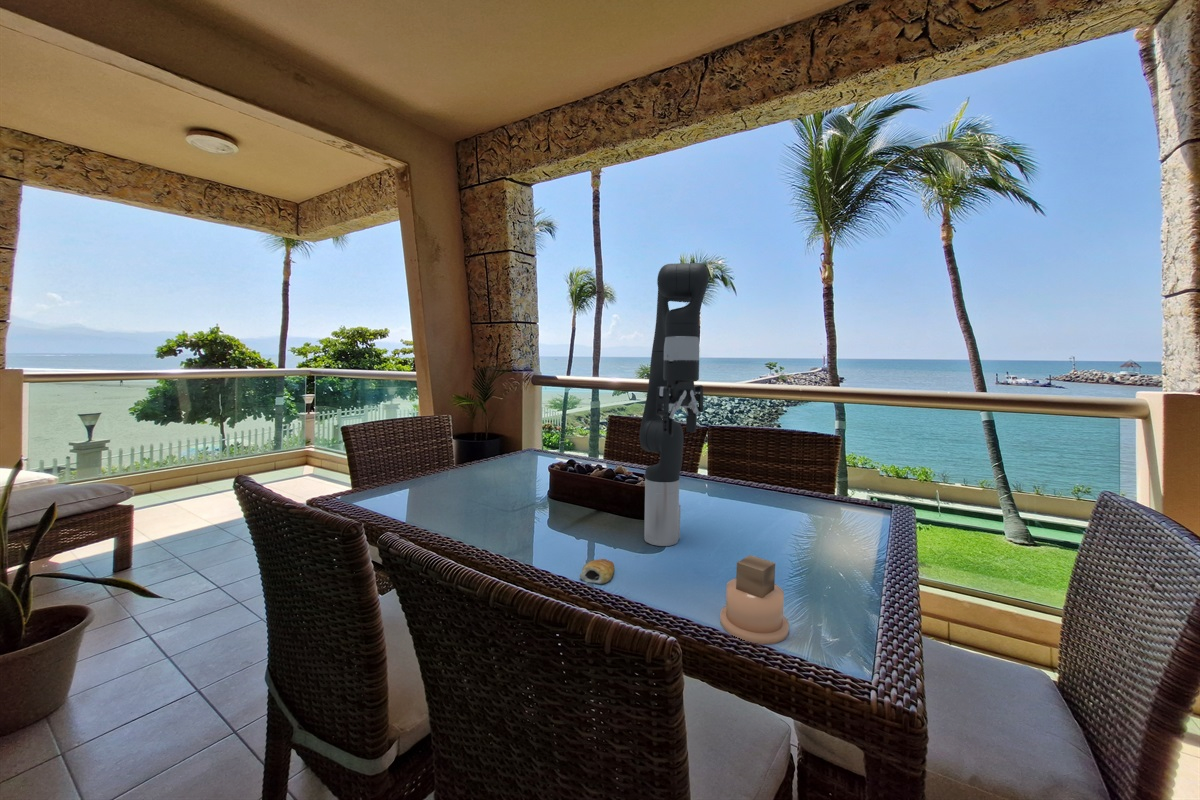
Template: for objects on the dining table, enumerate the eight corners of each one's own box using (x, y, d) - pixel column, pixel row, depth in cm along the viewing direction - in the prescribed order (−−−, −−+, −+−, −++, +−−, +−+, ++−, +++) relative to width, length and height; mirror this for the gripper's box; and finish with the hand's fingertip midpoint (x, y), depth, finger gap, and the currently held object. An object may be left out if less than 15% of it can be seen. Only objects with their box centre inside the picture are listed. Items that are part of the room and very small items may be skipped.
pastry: (595, 565, 113) (595, 550, 113) (621, 570, 111) (621, 554, 110) (578, 581, 105) (578, 565, 104) (606, 587, 102) (606, 570, 102)
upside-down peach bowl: (740, 602, 96) (741, 569, 95) (799, 626, 87) (800, 589, 87) (707, 625, 87) (708, 588, 87) (769, 653, 79) (771, 613, 78)
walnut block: (749, 580, 90) (749, 555, 90) (774, 589, 87) (775, 562, 86) (736, 589, 87) (736, 562, 86) (761, 598, 83) (762, 571, 83)
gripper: (685, 359, 108) (684, 429, 109) (646, 358, 98) (645, 435, 99) (714, 359, 103) (712, 432, 104) (676, 358, 93) (674, 439, 94)
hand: (679, 434), depth 102 cm, fingers open, 8 cm apart
